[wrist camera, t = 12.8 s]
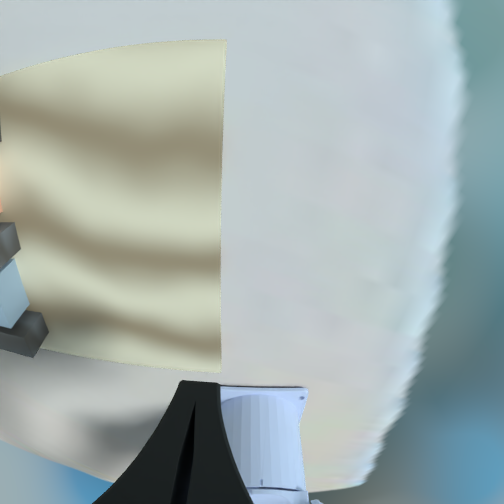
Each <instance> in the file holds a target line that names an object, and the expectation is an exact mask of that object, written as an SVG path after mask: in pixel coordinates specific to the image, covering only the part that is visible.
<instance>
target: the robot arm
mask: <svg viewBox="0 0 504 504" xmlns="http://www.w3.org/2000/svg"><path fill="white" fill-rule="evenodd" d="M307 397H308V389H306V388H250V387H225V386H220V384H218V383H213V382H199V381H186V380H182V381H180V383H179V385H178V388H177V390H176V392H175V395H174V397H173V399H172V401H171V403H170V405H169V407H168V409H167V410H166V412H165V414H164V416H163V417H162V419H161V421H160V423H159V424H158V426H157V428H156V429H155V431H154V433H153V434H152V436H151V437H150V439H149V440H148V441H147V443H146V444H145V446H144V447H143V449H142V450H141V452H140V453H139V454H138V456H137V457H136V458H135V460H134V461H133V462H132V463H131V464H130V466H129V467H128V468H127V469H126V470H125V472H124V473H123V474H122V475H121V476H120V477H119V478H118V479H117V480H116V482H115V483H114V484H113V485H112V486H111V487H110V488H109V489H108V490H107V491H106V492H104V493H103V494H102V495H101V496H100V497H99V498H98V499H97V500H96V501H95V502H93V503H92V504H309V498H308V491H306V485H305V475H304V466H303V456H302V447H301V438H300V429H299V423H300V420H301V416H302V413H303V410H304V407H305V404H306V400H307ZM311 504H323V503H320V501H319V500H311Z"/></svg>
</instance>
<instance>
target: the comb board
mask: <svg viewBox="0 0 504 504" xmlns="http://www.w3.org/2000/svg"><path fill="white" fill-rule="evenodd" d="M226 47H227V40H222V39H218V40H182V41H167V42H155V43H145V44H136V45H128V46H121V47H114V48H108V49H102V50H96V51H91V52H86V53H81V54H76V55H72V56H67V57H63V58H59V59H55V60H51V61H47V62H44V63H40V64H36V65H33V66H30V67H26V68H23V69H20V70H17V71H14V72H11V73H8V74H5V75H2V76H0V200H1V205H2V210H3V212H1V213H0V268H1V267H2V266H3V265H5V264H6V263H7V262H8V261H9V260H10V259H11V258H13V259H15V261H16V265H17V268H18V271H19V274H20V277H21V281H22V284H23V287H24V289H25V292H26V295H27V298H28V301H29V303H30V305H29V306H28V307H27V308H26V310H25V311H24V312H23V314H22V315H21V316H20V317H19V319H18V320H17V321H16V323H15V324H14V325H13V327H12V328H7V327H2V326H0V349H3V350H7V351H10V352H14V353H17V354H21V355H25V356H29V357H32V358H34V356H35V354H36V353H37V351H38V349H39V348H41V349H46V350H50V351H55V352H60V353H65V354H70V355H75V356H80V357H86V358H92V359H97V360H104V361H110V362H116V363H123V364H131V365H138V366H146V367H155V368H164V369H174V370H185V371H198V372H212V373H221V292H220V259H221V179H222V141H223V112H224V87H225V66H226Z"/></svg>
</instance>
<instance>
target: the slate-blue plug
mask: <svg viewBox="0 0 504 504" xmlns="http://www.w3.org/2000/svg"><path fill="white" fill-rule="evenodd" d="M29 305H30V303H29V301H28V298H27V295H26V292H25V289H24V287H23V284H22V281H21V277H20V274H19V271H18V268H17V265H16V261H15V259H13V258H11V259H10V260H9V261H8V262H7V263H6V264H5V265H3V266H2V267H1V268H0V326H2V327H7V328H12V327H13V325H14V324H15V323H16V321H17V320H18V319H19V317H20V316H21V315H22V314H23V312H24V311H25V310H26V308H27V307H28V306H29Z"/></svg>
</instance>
